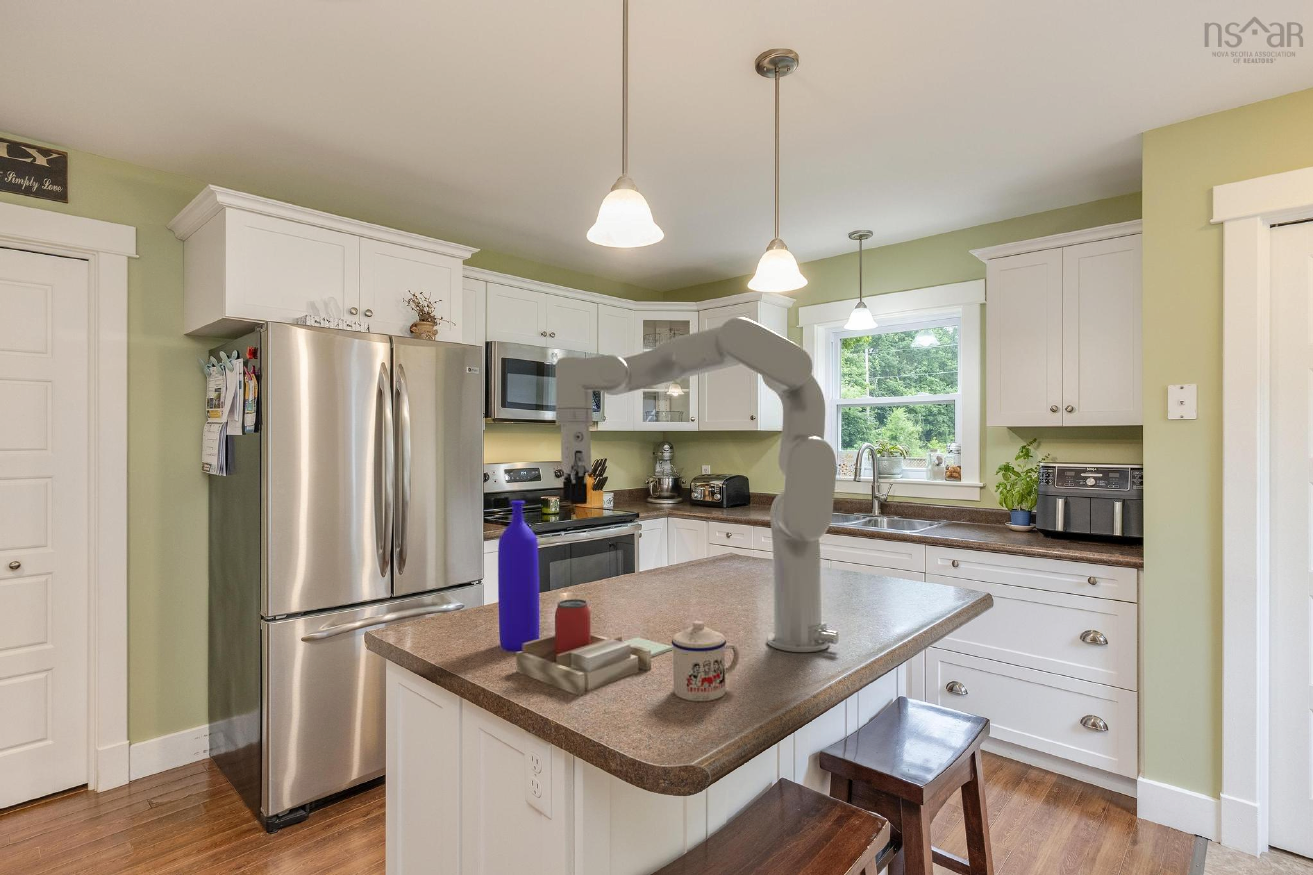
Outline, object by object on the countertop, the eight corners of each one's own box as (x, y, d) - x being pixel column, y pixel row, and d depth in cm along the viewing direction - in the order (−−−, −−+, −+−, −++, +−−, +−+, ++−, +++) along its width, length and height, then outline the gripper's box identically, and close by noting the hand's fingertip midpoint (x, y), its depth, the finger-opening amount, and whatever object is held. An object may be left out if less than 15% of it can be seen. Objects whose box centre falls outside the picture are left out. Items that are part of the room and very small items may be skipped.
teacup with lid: (686, 706, 105) (685, 632, 105) (664, 687, 113) (662, 618, 113) (752, 694, 109) (751, 623, 109) (726, 676, 118) (725, 610, 118)
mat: (672, 649, 133) (672, 646, 133) (637, 662, 126) (637, 659, 126) (637, 640, 140) (637, 637, 140) (602, 651, 133) (602, 648, 133)
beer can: (584, 673, 120) (583, 607, 120) (550, 671, 122) (549, 606, 122) (595, 661, 127) (594, 598, 127) (562, 660, 128) (561, 597, 128)
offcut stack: (638, 672, 121) (637, 642, 121) (588, 691, 112) (587, 659, 112) (619, 666, 124) (618, 637, 124) (569, 684, 116) (569, 653, 116)
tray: (651, 668, 122) (650, 641, 122) (580, 695, 110) (579, 665, 110) (586, 649, 134) (586, 624, 134) (516, 671, 122) (516, 644, 122)
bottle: (547, 642, 140) (545, 499, 140) (524, 654, 132) (521, 503, 132) (515, 638, 143) (513, 498, 143) (490, 649, 135) (488, 502, 136)
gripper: (600, 416, 128) (601, 505, 128) (585, 419, 145) (585, 497, 145) (561, 416, 126) (562, 506, 126) (550, 419, 143) (551, 498, 143)
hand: (574, 501), depth 135 cm, fingers open, 9 cm apart
